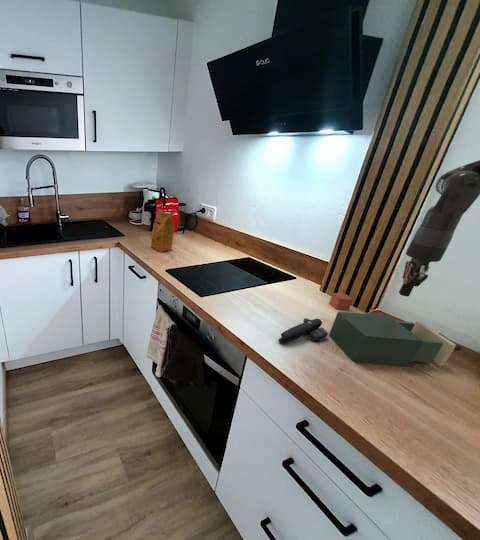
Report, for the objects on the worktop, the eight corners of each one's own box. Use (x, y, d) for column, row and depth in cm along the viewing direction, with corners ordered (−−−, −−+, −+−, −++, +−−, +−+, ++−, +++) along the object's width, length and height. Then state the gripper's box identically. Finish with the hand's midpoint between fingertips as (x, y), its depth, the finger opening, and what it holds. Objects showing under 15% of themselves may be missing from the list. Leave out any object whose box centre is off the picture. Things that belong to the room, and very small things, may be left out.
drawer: (425, 342, 89) (437, 322, 86) (462, 367, 79) (476, 346, 76) (364, 337, 91) (372, 317, 88) (391, 361, 80) (402, 340, 77)
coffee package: (162, 244, 174) (165, 208, 165) (173, 251, 163) (178, 212, 155) (148, 246, 170) (150, 209, 161) (159, 253, 160) (162, 214, 151)
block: (341, 304, 112) (345, 293, 110) (348, 310, 108) (353, 299, 106) (328, 303, 112) (332, 292, 110) (335, 309, 108) (339, 298, 106)
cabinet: (376, 339, 91) (388, 315, 88) (408, 367, 80) (423, 340, 76) (328, 335, 92) (337, 311, 89) (353, 362, 81) (365, 336, 77)
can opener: (309, 327, 96) (314, 313, 94) (329, 339, 90) (335, 324, 88) (269, 337, 91) (273, 322, 88) (288, 351, 85) (293, 335, 82)
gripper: (456, 251, 76) (425, 307, 83) (439, 239, 86) (413, 290, 93) (418, 245, 79) (392, 299, 86) (406, 235, 90) (384, 284, 97)
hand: (403, 294), depth 90 cm, fingers closed
